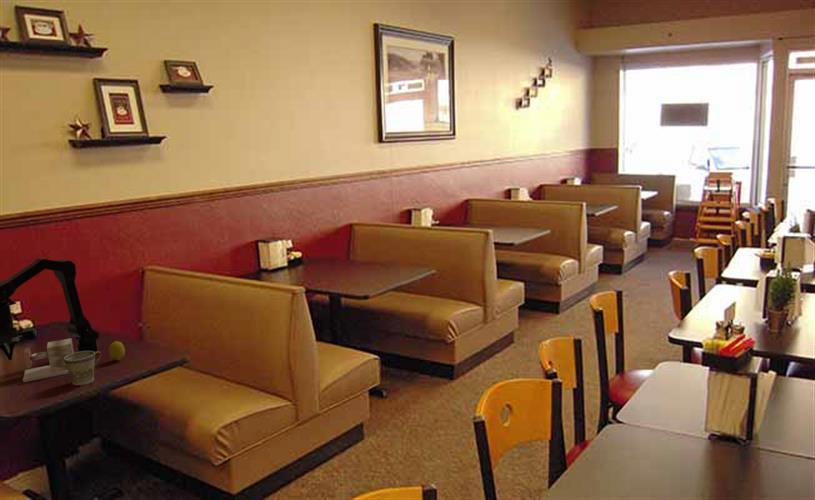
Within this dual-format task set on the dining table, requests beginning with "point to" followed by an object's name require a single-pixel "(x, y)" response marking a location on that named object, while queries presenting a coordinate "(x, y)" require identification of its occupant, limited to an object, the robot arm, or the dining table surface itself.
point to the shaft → (33, 356)
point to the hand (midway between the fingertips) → (10, 359)
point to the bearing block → (59, 353)
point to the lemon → (116, 350)
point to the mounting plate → (41, 373)
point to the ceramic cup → (81, 366)
